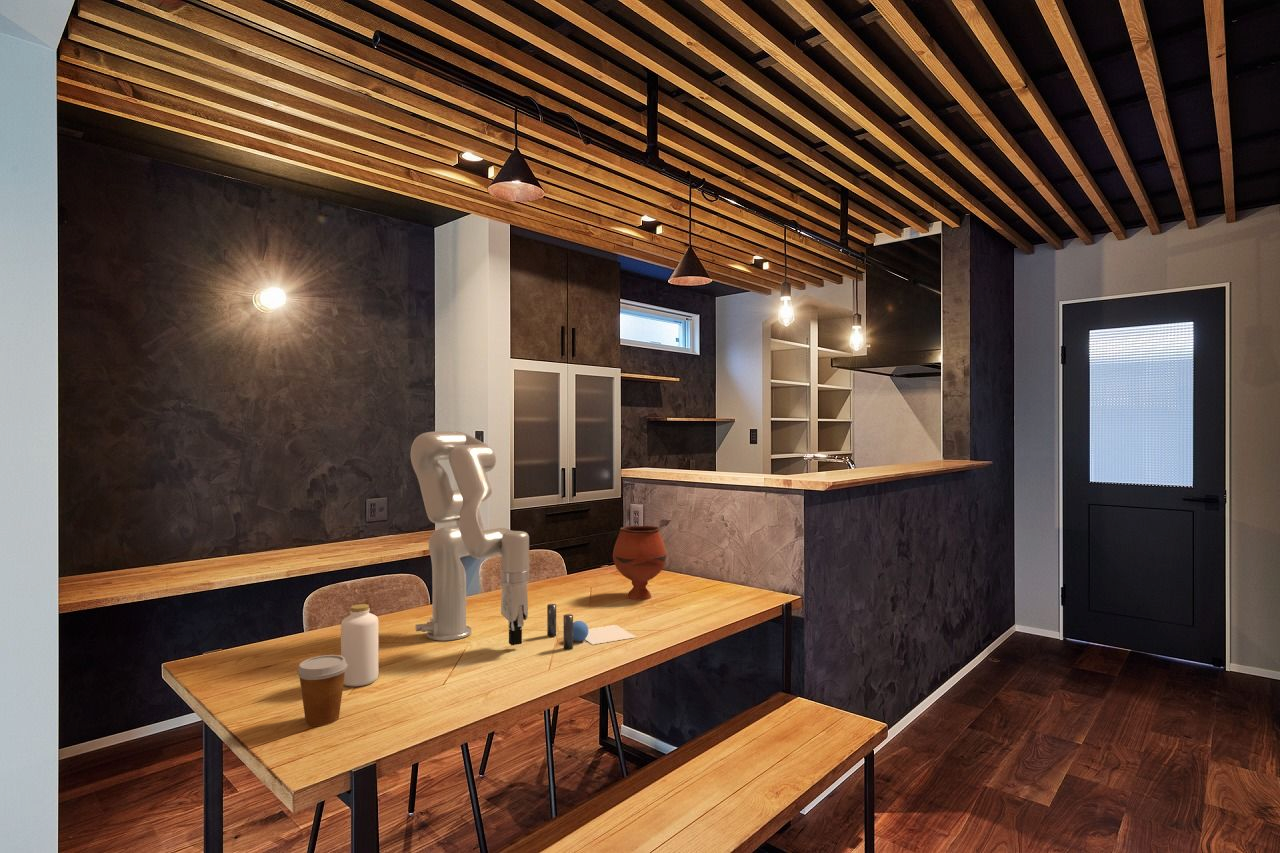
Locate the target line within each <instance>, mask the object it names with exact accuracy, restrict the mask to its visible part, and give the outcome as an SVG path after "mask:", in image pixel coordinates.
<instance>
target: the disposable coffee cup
mask: <svg viewBox="0 0 1280 853" xmlns="http://www.w3.org/2000/svg"><path fill="white" fill-rule="evenodd" d="M347 666H348V664H347V663H346V661H345V658H344V657H343V656H341V655H338V654H327V655H317V656H314V657H310V658H307V659H305V660H303V661H301V662H300V663H299V666H298V668H297V670H296V675H297V676H298V678H299V682H300V690H301V691H300V692H301V698H302V704H303V711H304V712H303V713H304V720H305V725H308V726H312V727H318V726H319V727H321V726H326V725H329V724H332V723H334V722H336V721H337V720H338V719H339V718H340V712H341V704H342V698H343V697H342V696H343V688H344V684H343V683H344V675H345V670H346V668H347Z"/></svg>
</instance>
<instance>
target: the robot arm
mask: <svg viewBox="0 0 1280 853" xmlns="http://www.w3.org/2000/svg"><path fill="white" fill-rule="evenodd" d="M441 460H442V461H443V460H444V461H446V460H448V462H449V465H450V468H451V471H452V474H453V476H454V479H455V482H456V486H457V488H458V489H453V488H452V487H451V482H450V478H449V475H448V473H447V471H446V470H445V469H444V467H443V466H442V465H441V464H440V463H439V461H441ZM410 461H411V465H412V468H413V471H414V473H415V475H416V477H417V480H418V484H419V487H420V488H419V489H420V492H421V496H422V501H423V503H424V504H423V506H424V508H425V512H426V516H427V518H428V519H429V520H428V521H430V522H432V523H433V524H447V523H453V522H455V523H456V525H450V526H444V527H441V528H439V529H436V530H434V531H433V533H432V534H431V535H430V537H429V540H428V550H429V554H430V555H429V556H430V559H431V560H430V561H431V569H432V570H431V573H432V574H431V576H432V583H431V584H432V618H430V619H429V621H427V622H426V623H419V624H415V632H422V633H426V638H428V639H430V640H435V641H445V642H446V641H455V640H459V639H463V638H466V637H469V635H471V634H472V627H470V626H469V625H467V573H466V572H467V571H466V569H465V566H464V565H463V562H462V560H461V558H464V557H468V556H470V557H472V558H474V559H475V560H476V559H477V560H484V559H488V558H492V557H497V556H501V557H500V558H501V559H500V561H501V568H500V569H501V571H500V572H501V580H500V581H501V584H502V586H501V588H502V589H501V599H500V600H501V601H500V614H501V615H502V617H503V618H504V619H506V621H508V623H507V624H508V644H509V645H510V646H515V645H516V646H517V645H521V644H522V643H523V627H524V626H525V624H524V621H526V620H527V619H528V618H529V603H528V602H529V600H528V586H527V584H528V583H530V536H529V534H528V533H527V532H526V531H523V530H511V529H509V528H505V527H498V528H491V529H490V528H489V529H484V524H483V522H482V521H483V520H482V517H481V516H482V515H481V514H480V512H481V511H480V509H479V508H480V506H481V504H482V503H483V502H484V501H486V500H488V498H491V495H492V494H493V489H492V487H491V485H490V482H489V479H488V476H487V474H486V473H488V472H491V471H492V470H493V469H494V468H495V466H496V462H497V459H496V454H495V452H494V450H493V449H492V448H491V446H489V445H488V444H486V443H485V442H482V441H481V440H480V439H477V438H476V437H474V436H472V435H470V434H468V433H466V432H463V431H442V430H441V431H439V430H438V431H428V432H427V431H426V432H423V433H421V434H419V435H417V437H415V439H414V440H413V442H412V444H411V447H410Z"/></svg>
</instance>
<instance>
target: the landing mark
mask: <svg viewBox="0 0 1280 853" xmlns="http://www.w3.org/2000/svg"><path fill="white" fill-rule="evenodd" d="M630 638H632V639H636V638H638V637H637V636H636V635H634V634H632V633H630V632H629V631H627V630H626V629H625V628H622V627H620V626H618V625H617V624H611V625H605V627H604V626H597V627H592V628H591V629H590V628H588V635H587V637H586V638H585V640H584V641H586V642H587V641H588V642H587V643H589V645H592V646H595V644H596V645H601V644H600V643H602V644H608V643H614V642H619V641H618V640H620V641H624V640H623V639H626V640H631V639H630ZM613 641H614V642H613ZM607 642H608V643H607Z"/></svg>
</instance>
